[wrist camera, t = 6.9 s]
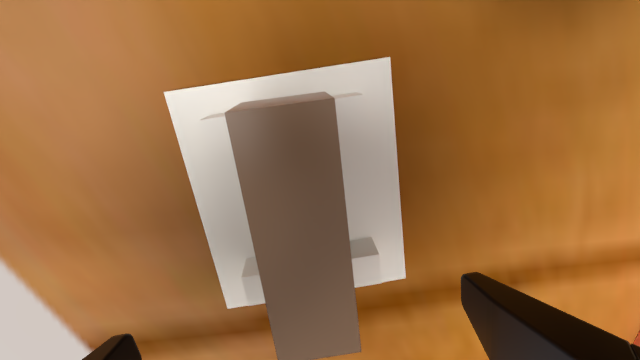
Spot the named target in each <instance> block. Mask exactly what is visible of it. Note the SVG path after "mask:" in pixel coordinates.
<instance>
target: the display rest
mask: <svg viewBox="0 0 640 360" xmlns="http://www.w3.org/2000/svg"><path fill="white" fill-rule="evenodd" d="M324 91H325V92H326V93H328V94H329V95H331V96H332V97H334V98H335V106H336V116H337V125H338V135H339V144H340V154H341V163H342V173H343V182H344V192H345V201H346V211H347V220H348V230H349V239H350V249H351V258H352V268H353V277H354V287H355V288H357V287H363V286H368V285H374V284H380V283H382V282H387V281H393V280H399V279H404V278H406V274H405V260H404V246H403V231H402V217H401V203H400V189H399V175H398V161H397V147H396V133H395V119H394V105H393V91H392V77H391V62H390V57H386V58H380V59H374V60H367V61H361V62H354V63H348V64H341V65H335V66H329V67H322V68H316V69H309V70H303V71H296V72H290V73H283V74H277V75H271V76H264V77H258V78H251V79H245V80H238V81H232V82H226V83H219V84H213V85H206V86H200V87H193V88H187V89H181V90H174V91H168V92H164V95H165V98H166V101H167V105H168V108H169V112H170V115H171V118H172V122H173V125H174V129H175V132H176V135H177V139H178V142H179V146H180V149H181V152H182V156H183V159H184V162H185V166H186V169H187V173H188V176H189V179H190V183H191V186H192V190H193V193H194V196H195V200H196V203H197V207H198V210H199V213H200V217H201V220H202V223H203V227H204V230H205V234H206V237H207V240H208V244H209V247H210V251H211V254H212V257H213V261H214V264H215V268H216V271H217V274H218V278H219V281H220V284H221V288H222V291H223V295H224V298H225V301H226V305H227V308H228V309H230V308H236V307H242V306H247V305H249V306H252V305H258V304H264V303H265V298H264V293H263V289H262V284H261V280H260V275H259V270H258V266H257V261H256V257H255V252H254V247H253V243H252V238H251V233H250V229H249V224H248V220H247V215H246V210H245V206H244V201H243V196H242V192H241V187H240V183H239V178H238V173H237V169H236V164H235V160H234V155H233V150H232V146H231V141H230V136H229V132H228V127H227V123H226V118H225V112H226V111H228V110H230V109H231V108H233V107H235V106H236V105H238V104H240V103H241V102H249V101H256V100H264V99H271V98H279V97H286V96H294V95H301V94H309V93H317V92H324Z"/></svg>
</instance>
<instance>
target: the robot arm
mask: <svg viewBox="0 0 640 360" xmlns="http://www.w3.org/2000/svg"><path fill="white" fill-rule="evenodd" d="M461 301H462V305H463V308H464V310H465V312H466V314H467V316H468V318H469V320H470V322H471V324H472V326H473V328H474V330H475V332H476V334H477V336H478V338H479V340H480V342H481V344H482V346H483V348H484V350H485V352H486V354H487V356H488V357H489V359H490V360H640V347H639V346H637V345H635V344H630V343H629V342H628V341H626V340H624V339H622V338H619V337H617V336H615V335H613V334H611V333H609V332H606V331H604V330H602V329H600V328H598V327H596V326H593V325H591V324H589V323H587V322H585V321H583V320H580V319H578V318H576V317H574V316H572V315H570V314H567V313H565V312H563V311H561V310H559V309H557V308H554V307H552V306H550V305H548V304H546V303H544V302H541V301H539V300H537V299H535V298H533V297H531V296H528V295H526V294H524V293H522V292H520V291H518V290H515V289H513V288H511V287H509V286H507V285H505V284H502V283H500V282H498V281H496V280H494V279H492V278H490V277H487V276H485V275H483V274H481V273H478V272H472V273H467V274H463V275H462V277H461ZM82 360H142V358H141V354H140V352H139V350H138V348H137V345H136V343H135V341H134V338H133V336H132V335H131V334H121V335H116V336H113V337H111V338H110V339H108V340H107V341H106V342H104V343H103V344H102V345H101V346H99V347H98V348H97V349H95V350H94V351H93V352H91V353H90V354H89V355H87V356H86V357H85V358H83V359H82Z"/></svg>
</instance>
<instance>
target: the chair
mask: <svg viewBox="0 0 640 360" xmlns="http://www.w3.org/2000/svg"><path fill="white" fill-rule="evenodd" d="M633 344H635V345H637V346H639V347H640V331H639V333H638V335H637V337H636V339H635V341H634V343H633Z"/></svg>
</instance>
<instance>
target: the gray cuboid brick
mask: <svg viewBox="0 0 640 360" xmlns="http://www.w3.org/2000/svg"><path fill="white" fill-rule="evenodd" d="M225 118H226V123H227V127H228V132H229V136H230V141H231V146H232V150H233V155H234V160H235V164H236V169H237V173H238V178H239V183H240V187H241V192H242V196H243V201H244V206H245V210H246V215H247V220H248V224H249V229H250V233H251V238H252V243H253V247H254V252H255V257H256V261H257V266H258V270H259V275H260V280H261V284H262V289H263V293H264V298H265V303H266V307H267V312H268V317H269V321H270V326H271V330H272V335H273V340H274V344H275V349H276V354H277V358H278V360H312V359H319V358H325V357H331V356H338V355H344V354H350V353H357V352H361V344H360V334H359V325H358V315H357V306H356V296H355V287H354V277H353V268H352V258H351V249H350V239H349V230H348V220H347V211H346V201H345V192H344V182H343V173H342V163H341V154H340V144H339V135H338V125H337V116H336V106H335V98H334V97H332V96H331V95H329V94H328V93H326V92H325V91H324V92H317V93H309V94H301V95H294V96H286V97H279V98H271V99H264V100H256V101H249V102H241V103H240V104H238V105H236V106H235V107H233V108H231V109H230V110H228V111H226V112H225Z"/></svg>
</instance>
